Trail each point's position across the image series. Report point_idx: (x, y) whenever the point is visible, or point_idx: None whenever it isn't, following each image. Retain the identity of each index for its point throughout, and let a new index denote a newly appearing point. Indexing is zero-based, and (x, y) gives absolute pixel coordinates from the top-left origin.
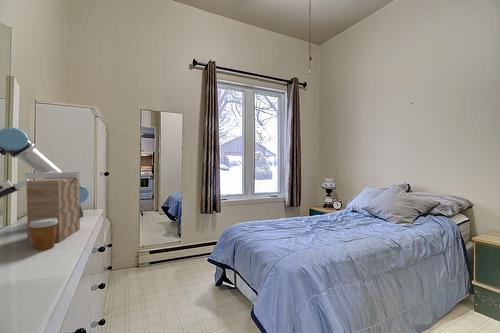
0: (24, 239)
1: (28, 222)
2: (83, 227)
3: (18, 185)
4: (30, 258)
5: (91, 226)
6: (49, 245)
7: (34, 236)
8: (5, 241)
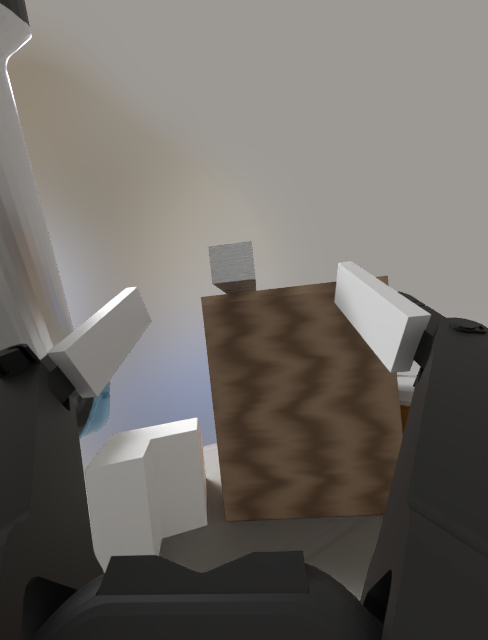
0: (353, 581)
1: (400, 429)
2: (213, 457)
3: (105, 347)
4: None
5: (211, 446)
6: None
7: None
8: None
